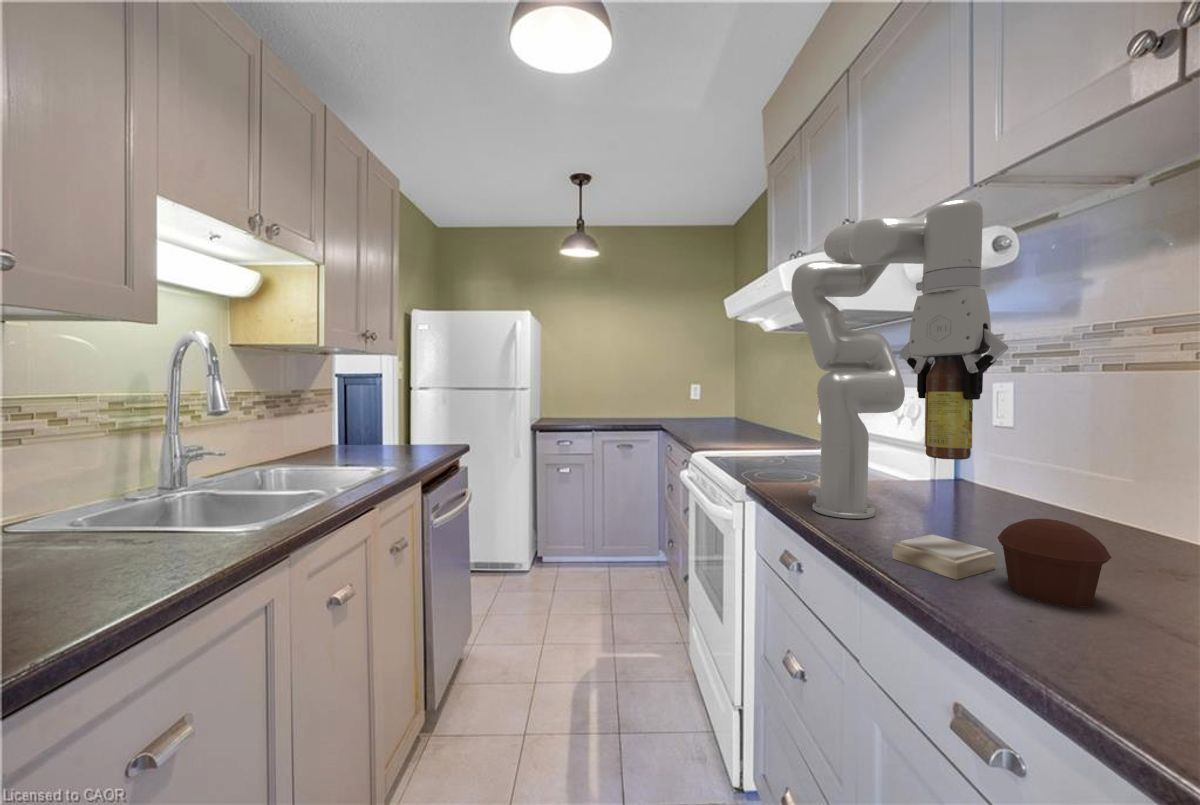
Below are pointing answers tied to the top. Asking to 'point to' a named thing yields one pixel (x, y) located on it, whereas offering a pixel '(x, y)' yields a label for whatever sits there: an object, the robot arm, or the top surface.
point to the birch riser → (944, 556)
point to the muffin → (1053, 561)
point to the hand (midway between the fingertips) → (948, 397)
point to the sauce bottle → (947, 410)
